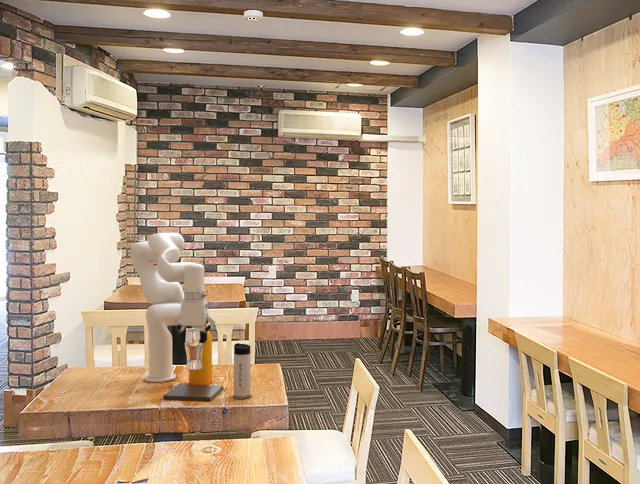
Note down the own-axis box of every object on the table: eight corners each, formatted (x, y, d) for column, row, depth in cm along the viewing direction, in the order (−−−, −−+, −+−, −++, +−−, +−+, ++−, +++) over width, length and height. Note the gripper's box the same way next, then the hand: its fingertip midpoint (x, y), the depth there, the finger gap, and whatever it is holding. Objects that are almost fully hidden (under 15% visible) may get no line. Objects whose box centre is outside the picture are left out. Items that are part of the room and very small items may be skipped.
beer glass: (198, 371, 241) (198, 331, 241) (181, 369, 243) (181, 330, 242) (206, 366, 248) (206, 328, 248) (190, 365, 249) (190, 327, 249)
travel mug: (242, 393, 248) (242, 342, 247) (253, 396, 244) (254, 344, 243) (229, 396, 243) (229, 344, 242) (241, 400, 239) (241, 346, 238)
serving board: (179, 388, 254) (179, 384, 254) (223, 389, 253) (223, 385, 253) (163, 399, 238) (163, 395, 238) (210, 401, 237) (210, 397, 237)
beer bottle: (185, 382, 262) (185, 312, 262) (205, 379, 268) (205, 310, 268) (194, 387, 255) (194, 315, 254) (216, 383, 261) (216, 313, 260)
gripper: (219, 295, 248) (219, 341, 248) (175, 294, 249) (175, 340, 249) (213, 297, 240) (213, 344, 241) (168, 297, 241) (168, 343, 242)
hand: (194, 342), depth 245 cm, fingers closed on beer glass, 7 cm apart
